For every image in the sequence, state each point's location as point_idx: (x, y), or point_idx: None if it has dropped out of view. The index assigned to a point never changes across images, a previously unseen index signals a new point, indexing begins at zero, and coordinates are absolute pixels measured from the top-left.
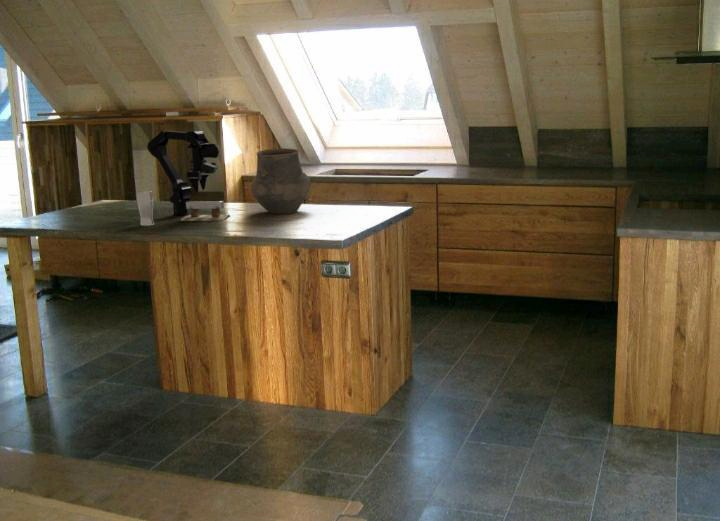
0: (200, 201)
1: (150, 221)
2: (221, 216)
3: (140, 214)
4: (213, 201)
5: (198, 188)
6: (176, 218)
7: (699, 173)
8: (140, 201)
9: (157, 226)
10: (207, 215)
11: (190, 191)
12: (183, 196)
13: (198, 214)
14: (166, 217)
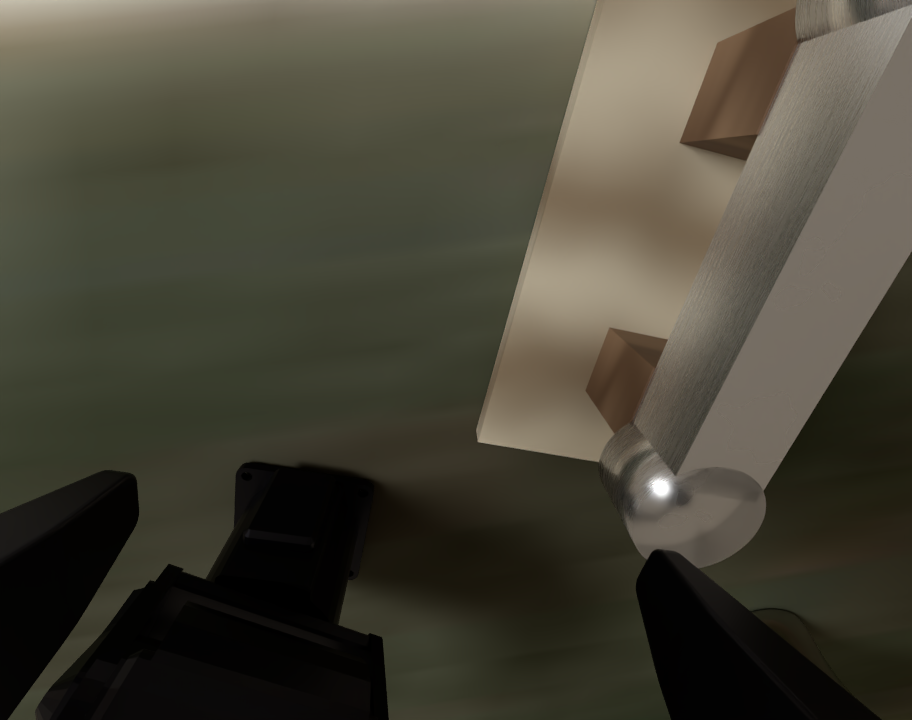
0: (734, 381)
1: (817, 647)
2: (761, 14)
3: None
4: (893, 104)
5: (725, 621)
6: (523, 519)
7: None
8: None
9: (869, 575)
10: (586, 240)
11: (163, 688)
12: (366, 677)
13: (649, 342)
14: (443, 593)
